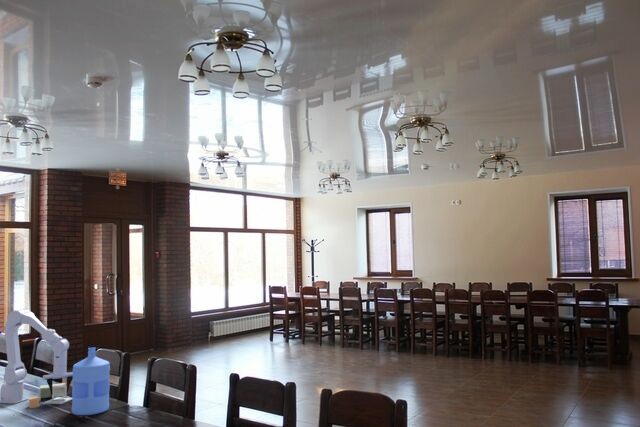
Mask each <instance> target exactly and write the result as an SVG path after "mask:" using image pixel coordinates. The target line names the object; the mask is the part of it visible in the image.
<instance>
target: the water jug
mask: <svg viewBox="0 0 640 427" xmlns="http://www.w3.org/2000/svg"><path fill="white" fill-rule="evenodd" d="M87 349H88V351H87V354H88V355H87V356H86V357H85V358H84V359H81V360H80V361H78V362H77V363H75V364H73V366H72V372H73V379H72V388H71V393H72V396H71V398H72V400H71V401H72V402H71V409H70V410H71V413H72V414H73V415H76V416H92V415H97V414H101V413H104V412H106V411H108V410H109V408H110V388H111V387H110V386H111V385H110V371H111V365H110V361H108V360H106V359H103V358H101V357H98V356H96V352H97V351H96V347H94V346H93V347H88V348H87Z"/></svg>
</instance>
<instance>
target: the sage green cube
mask: <svg viewBox="0 0 640 427" xmlns="http://www.w3.org/2000/svg"><path fill="white" fill-rule="evenodd" d="M46 398H52V395H51V391H50V388H49V385H48V384H46V385H45V384H44V385H39V402H42V401H41V400H42V399H46Z"/></svg>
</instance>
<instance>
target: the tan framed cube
mask: <svg viewBox="0 0 640 427" xmlns="http://www.w3.org/2000/svg"><path fill="white" fill-rule="evenodd" d="M52 391H53V394H52V397H51V400H54V398H57V397H64V398H67V394H68V393H67V382H63V383H62V382H61V383H55V384H54V383H52Z"/></svg>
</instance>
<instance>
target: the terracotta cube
mask: <svg viewBox="0 0 640 427" xmlns="http://www.w3.org/2000/svg"><path fill="white" fill-rule="evenodd" d="M39 396H40V395H39ZM39 396H38V395H37V396H31V397H29V404H28V407H29V409H33V408H40V400H39Z"/></svg>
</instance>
